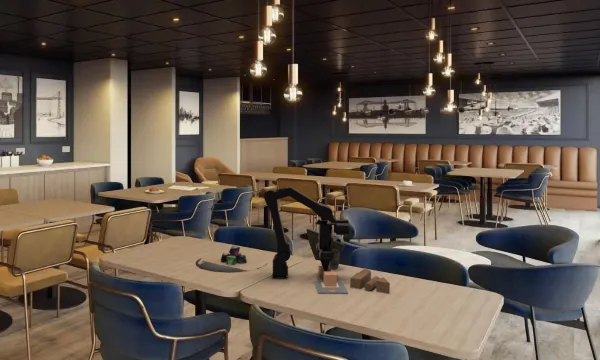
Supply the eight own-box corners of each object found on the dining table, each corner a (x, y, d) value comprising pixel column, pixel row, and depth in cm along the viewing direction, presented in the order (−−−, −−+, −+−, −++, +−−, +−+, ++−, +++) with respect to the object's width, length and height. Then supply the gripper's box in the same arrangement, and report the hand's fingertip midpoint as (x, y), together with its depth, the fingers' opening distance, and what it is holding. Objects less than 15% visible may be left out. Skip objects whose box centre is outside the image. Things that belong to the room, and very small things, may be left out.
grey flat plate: (318, 293, 204) (318, 292, 204) (314, 281, 220) (314, 280, 219) (347, 293, 204) (347, 292, 204) (342, 282, 220) (342, 280, 220)
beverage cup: (340, 270, 238) (341, 228, 236) (324, 269, 239) (325, 227, 237) (341, 266, 245) (343, 226, 243) (326, 265, 246) (328, 225, 244)
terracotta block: (324, 286, 211) (325, 274, 211) (323, 282, 216) (323, 271, 216) (336, 286, 212) (336, 274, 211) (335, 282, 217) (335, 271, 216)
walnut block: (319, 279, 223) (319, 268, 223) (318, 276, 228) (318, 265, 228) (330, 279, 224) (331, 268, 223) (329, 276, 228) (329, 265, 228)
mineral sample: (280, 266, 244) (280, 247, 244) (213, 276, 225) (213, 255, 224) (246, 255, 273) (246, 238, 273) (184, 263, 253) (183, 245, 253)
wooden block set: (349, 275, 212) (363, 265, 228) (349, 288, 212) (362, 278, 229) (389, 281, 205) (400, 270, 221) (388, 295, 205) (399, 283, 221)
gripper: (346, 239, 215) (345, 275, 217) (340, 230, 234) (339, 263, 235) (320, 238, 214) (319, 275, 216) (316, 230, 233) (315, 263, 234)
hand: (324, 269), depth 225 cm, fingers open, 9 cm apart
